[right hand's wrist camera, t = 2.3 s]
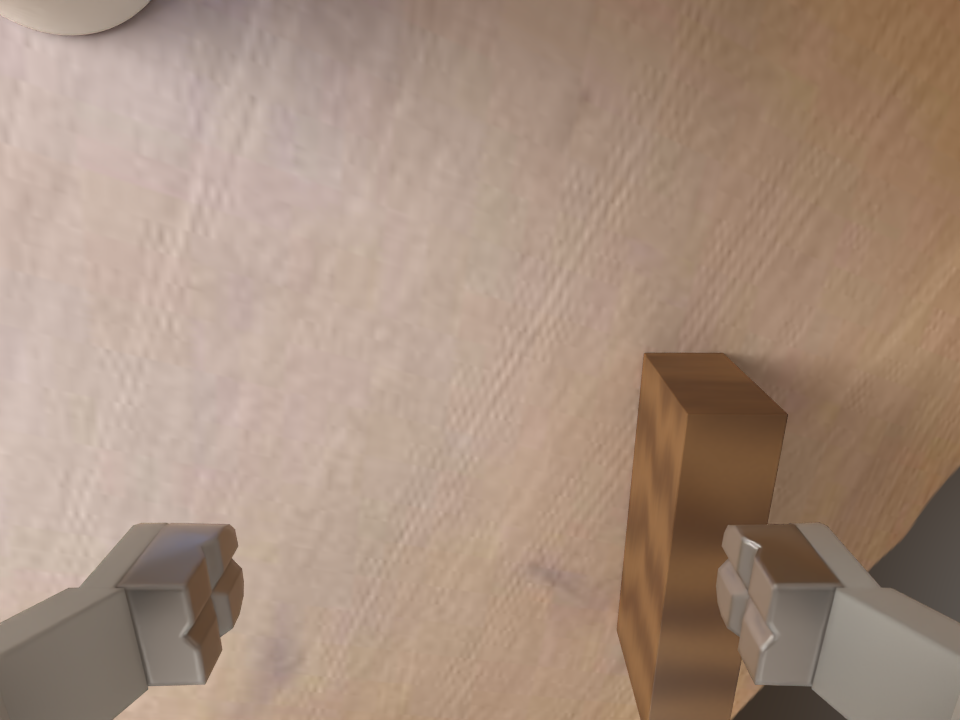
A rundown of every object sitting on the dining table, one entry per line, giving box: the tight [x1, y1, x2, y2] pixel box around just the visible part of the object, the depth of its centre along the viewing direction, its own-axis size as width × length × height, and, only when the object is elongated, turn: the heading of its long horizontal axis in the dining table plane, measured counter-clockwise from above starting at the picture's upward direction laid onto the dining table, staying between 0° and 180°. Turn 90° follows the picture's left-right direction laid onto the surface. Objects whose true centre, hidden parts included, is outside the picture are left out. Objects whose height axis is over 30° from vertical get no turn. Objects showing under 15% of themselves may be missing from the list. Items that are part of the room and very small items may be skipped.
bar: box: [617, 353, 788, 720], centre depth 41 cm, size 23×5×9 cm, turn 0°
